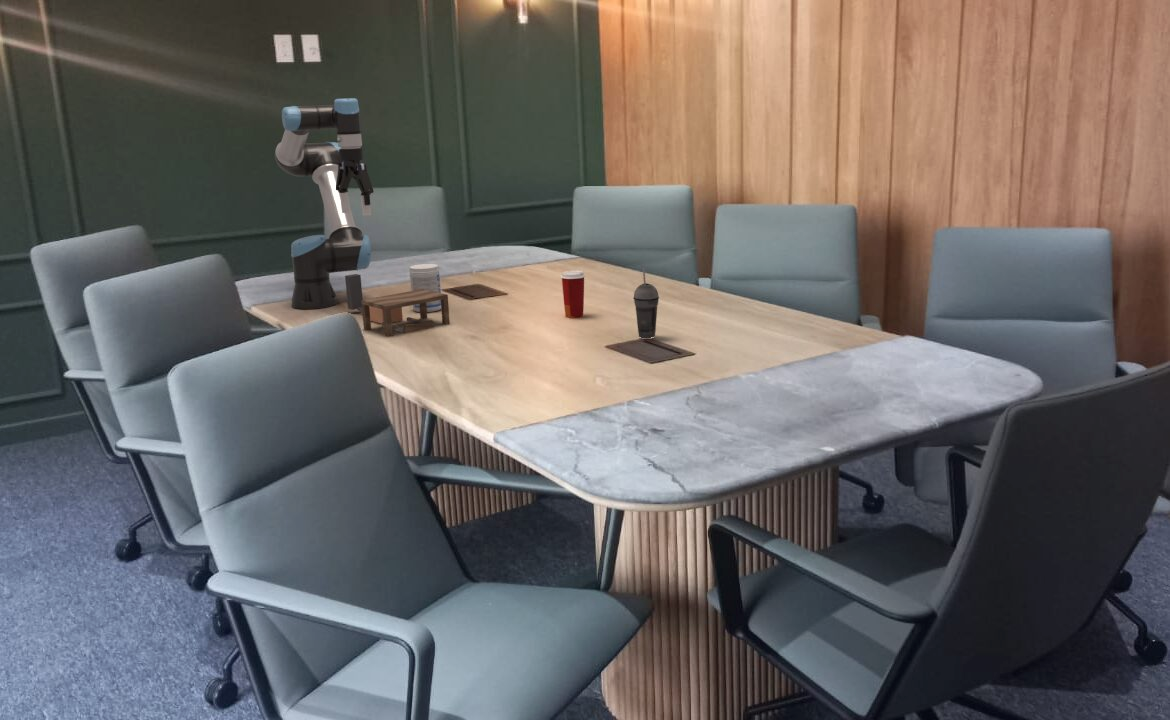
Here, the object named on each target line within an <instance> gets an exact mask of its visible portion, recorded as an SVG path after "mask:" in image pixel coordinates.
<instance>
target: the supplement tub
mask: <svg viewBox="0 0 1170 720" xmlns="http://www.w3.org/2000/svg"><path fill="white" fill-rule="evenodd" d="M409 279H410V291H415V290H420V289H425V290H429V291H434V292H438V293H442V290H441V288H442V287H441V279H440V269H439V265H438V264H435V263H424V264H423V263H422V264H414V265H411V266H410V267H409ZM426 305H427V313H431V312H437V311H440V310H441V300H437V301H432V302H427V303H426ZM412 309H413V311H414V312H416V313H420V306H419V304H416V305H412Z"/></svg>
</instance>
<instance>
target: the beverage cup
mask: <svg viewBox="0 0 1170 720" xmlns="http://www.w3.org/2000/svg"><path fill="white" fill-rule="evenodd" d="M645 270H646V269H645V267H642V276H643V283H641V284H640V285H638V286H637V287H636V288H635V290H634V292H633V298H632V299H633V303H634V306H635V313H636V324H637V332H638V338H639V337H641V338H651V337H654V336H655V337H656V331H657V316H658V305H659V299H660V297H659V292H658V290H657V288H656V287H655V286H654V285H653V284H651V283H648V282H646V272H645Z"/></svg>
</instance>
